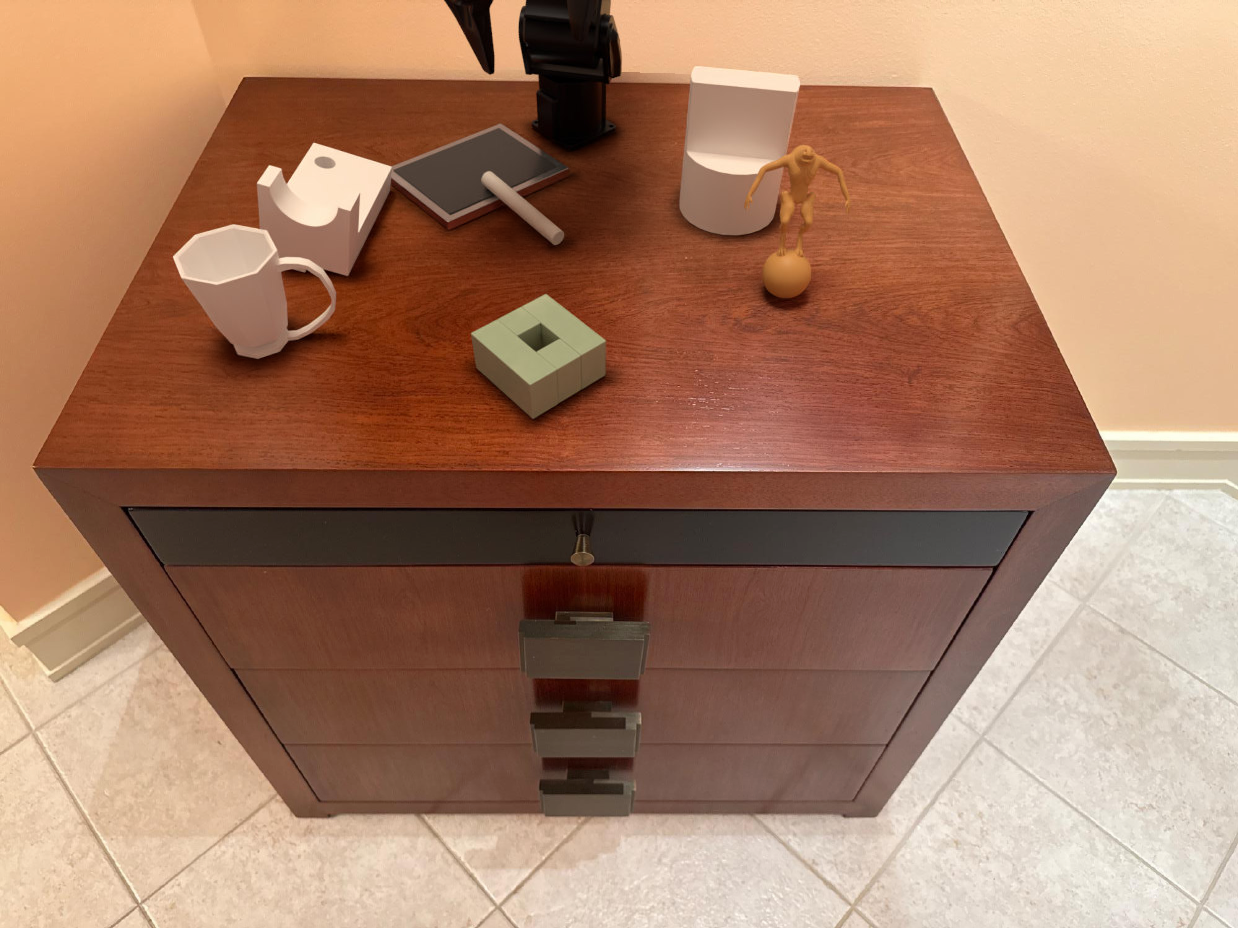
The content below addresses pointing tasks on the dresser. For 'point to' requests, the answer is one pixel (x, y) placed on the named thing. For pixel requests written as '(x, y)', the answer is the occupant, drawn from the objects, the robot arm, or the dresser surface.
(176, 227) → the dresser surface
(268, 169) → the bracket
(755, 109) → the cylinder with rectangular tab
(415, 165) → the tablet
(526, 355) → the pen stand
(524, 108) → the dresser surface
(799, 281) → the figurine
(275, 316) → the cup
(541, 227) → the stylus
